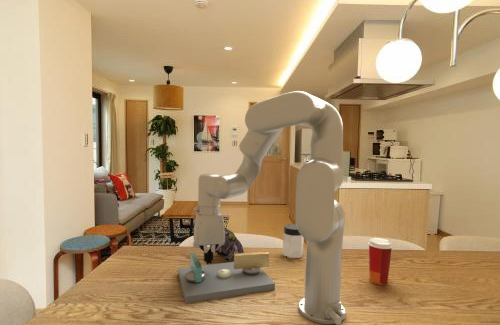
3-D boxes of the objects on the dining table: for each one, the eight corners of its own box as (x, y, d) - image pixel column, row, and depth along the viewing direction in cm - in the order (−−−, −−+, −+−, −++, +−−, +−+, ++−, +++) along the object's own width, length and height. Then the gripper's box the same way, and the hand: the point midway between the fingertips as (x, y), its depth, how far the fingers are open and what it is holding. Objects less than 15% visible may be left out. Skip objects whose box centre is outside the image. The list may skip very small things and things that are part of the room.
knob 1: (208, 285, 90) (208, 266, 89) (188, 288, 88) (188, 268, 87) (201, 269, 101) (201, 252, 101) (184, 272, 99) (184, 254, 99)
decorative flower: (224, 241, 108) (210, 221, 120) (212, 268, 110) (199, 245, 122) (255, 245, 116) (239, 226, 129) (243, 270, 118) (228, 248, 130)
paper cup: (388, 277, 103) (390, 238, 102) (392, 288, 95) (395, 246, 95) (364, 274, 105) (366, 236, 104) (367, 284, 98) (369, 243, 97)
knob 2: (235, 276, 96) (235, 258, 96) (232, 268, 102) (232, 251, 102) (270, 273, 99) (270, 256, 99) (265, 266, 105) (266, 249, 104)
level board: (274, 289, 93) (275, 278, 93) (185, 303, 84) (185, 291, 83) (253, 264, 112) (253, 255, 112) (178, 273, 102) (178, 264, 102)
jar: (307, 255, 122) (308, 227, 121) (294, 260, 117) (295, 230, 116) (291, 249, 129) (292, 222, 128) (278, 253, 124) (279, 225, 123)
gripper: (188, 213, 94) (187, 269, 95) (233, 211, 98) (232, 264, 100) (185, 208, 101) (185, 260, 102) (227, 206, 105) (226, 256, 107)
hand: (208, 262), depth 101 cm, fingers closed
